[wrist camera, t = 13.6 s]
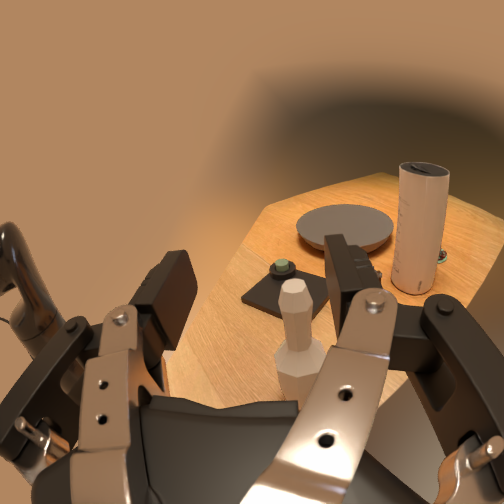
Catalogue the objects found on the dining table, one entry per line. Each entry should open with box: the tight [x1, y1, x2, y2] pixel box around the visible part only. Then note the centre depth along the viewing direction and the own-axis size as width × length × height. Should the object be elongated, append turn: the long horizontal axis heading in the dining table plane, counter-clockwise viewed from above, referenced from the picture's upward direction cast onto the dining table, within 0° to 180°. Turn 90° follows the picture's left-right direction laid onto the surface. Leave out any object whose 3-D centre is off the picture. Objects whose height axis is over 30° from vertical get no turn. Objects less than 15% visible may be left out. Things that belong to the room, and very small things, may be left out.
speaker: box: [391, 162, 449, 295], centre depth 48 cm, size 11×10×26 cm
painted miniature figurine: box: [438, 248, 447, 263], centre depth 60 cm, size 8×7×8 cm
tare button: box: [275, 259, 289, 272], centre depth 63 cm, size 3×3×2 cm
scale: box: [241, 261, 329, 321], centre depth 58 cm, size 16×14×3 cm
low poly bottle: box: [274, 278, 326, 410], centre depth 31 cm, size 6×6×22 cm
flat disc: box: [296, 204, 394, 253], centre depth 75 cm, size 28×28×4 cm
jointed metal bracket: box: [372, 266, 382, 283], centre depth 55 cm, size 2×8×4 cm, turn 176°
